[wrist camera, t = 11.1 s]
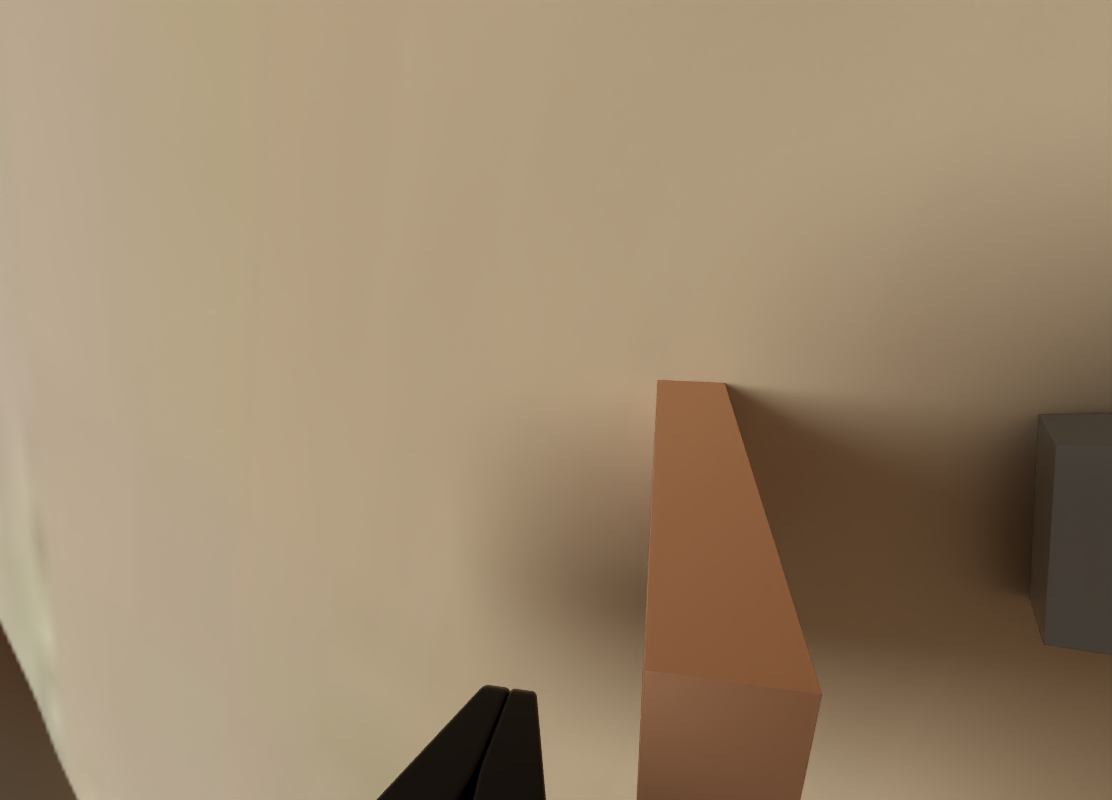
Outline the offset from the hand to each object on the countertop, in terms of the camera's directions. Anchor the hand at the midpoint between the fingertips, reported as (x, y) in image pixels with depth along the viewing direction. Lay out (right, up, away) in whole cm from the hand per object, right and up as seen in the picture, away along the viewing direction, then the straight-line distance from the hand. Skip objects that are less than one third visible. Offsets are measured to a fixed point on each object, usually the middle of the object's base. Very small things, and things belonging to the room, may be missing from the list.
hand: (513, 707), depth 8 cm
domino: (+4, +3, +6) cm, 8 cm away
